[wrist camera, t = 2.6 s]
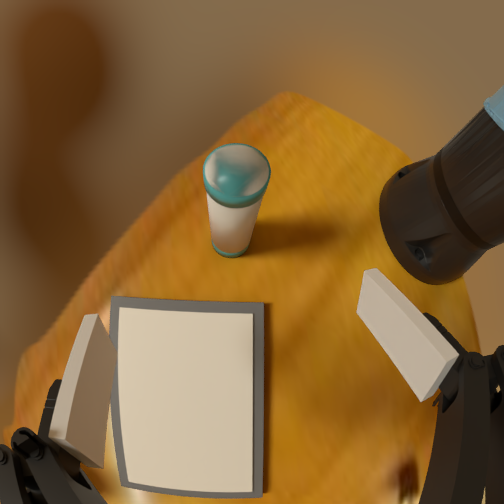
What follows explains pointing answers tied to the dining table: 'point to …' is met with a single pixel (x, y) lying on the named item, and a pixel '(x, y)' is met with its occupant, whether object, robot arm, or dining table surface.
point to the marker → (234, 195)
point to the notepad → (188, 396)
